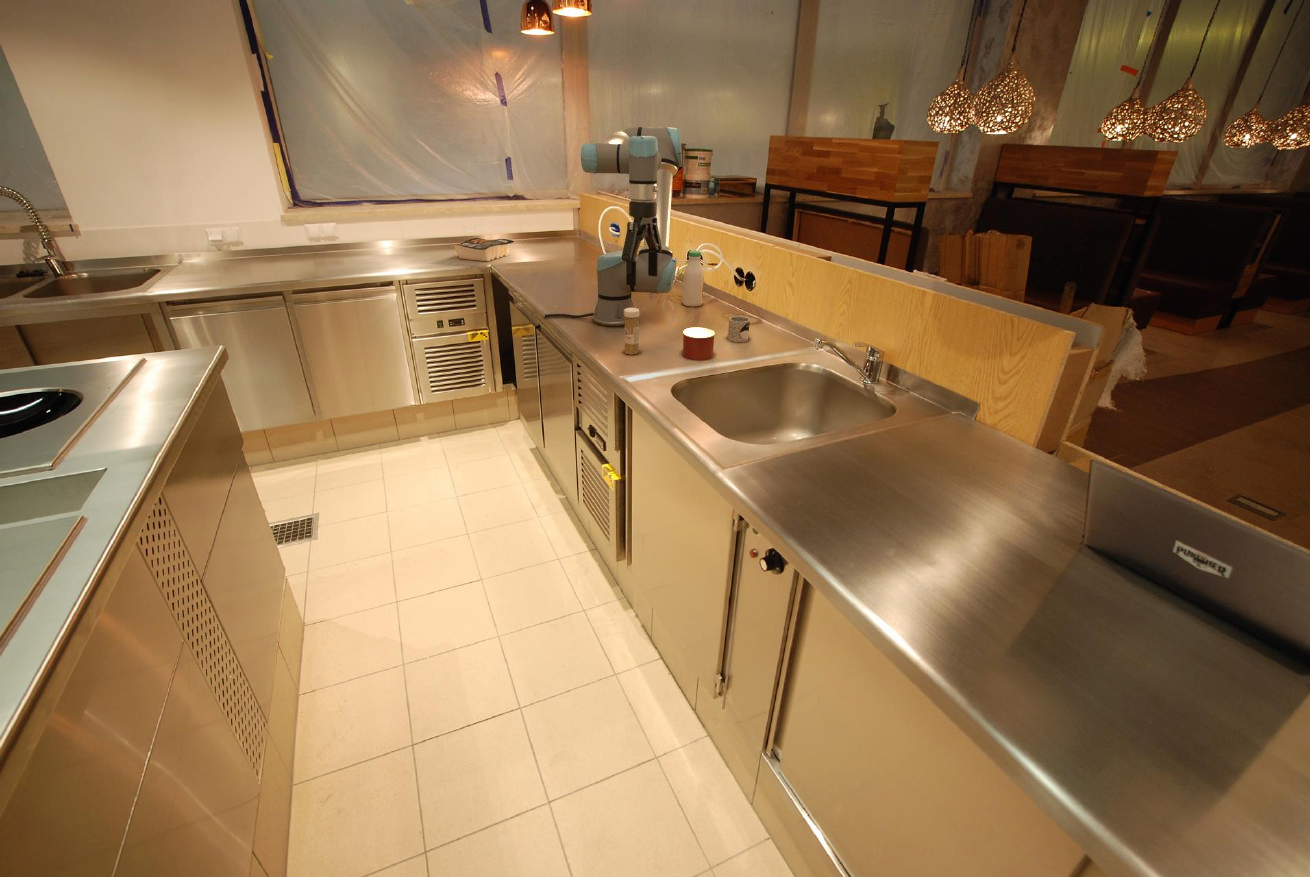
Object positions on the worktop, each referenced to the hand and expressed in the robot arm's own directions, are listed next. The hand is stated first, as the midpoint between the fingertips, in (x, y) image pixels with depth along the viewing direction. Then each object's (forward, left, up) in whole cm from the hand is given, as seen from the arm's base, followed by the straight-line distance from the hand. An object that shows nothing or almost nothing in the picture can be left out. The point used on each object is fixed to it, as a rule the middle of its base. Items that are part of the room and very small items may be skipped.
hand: (642, 280), depth 164 cm
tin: (+15, +7, -22) cm, 28 cm away
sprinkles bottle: (-3, -2, -22) cm, 22 cm away
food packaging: (-142, +80, -22) cm, 164 cm away
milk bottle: (-11, +57, -22) cm, 62 cm away
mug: (+20, +29, -22) cm, 42 cm away
